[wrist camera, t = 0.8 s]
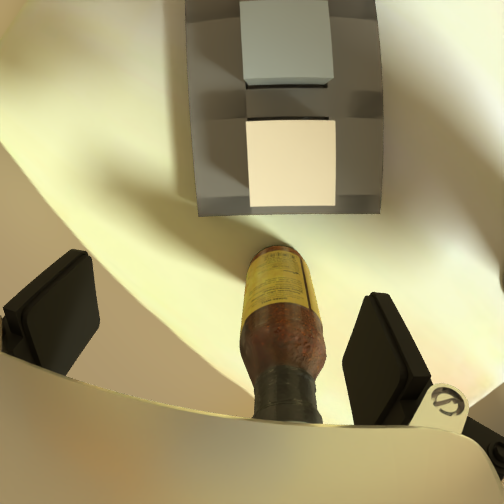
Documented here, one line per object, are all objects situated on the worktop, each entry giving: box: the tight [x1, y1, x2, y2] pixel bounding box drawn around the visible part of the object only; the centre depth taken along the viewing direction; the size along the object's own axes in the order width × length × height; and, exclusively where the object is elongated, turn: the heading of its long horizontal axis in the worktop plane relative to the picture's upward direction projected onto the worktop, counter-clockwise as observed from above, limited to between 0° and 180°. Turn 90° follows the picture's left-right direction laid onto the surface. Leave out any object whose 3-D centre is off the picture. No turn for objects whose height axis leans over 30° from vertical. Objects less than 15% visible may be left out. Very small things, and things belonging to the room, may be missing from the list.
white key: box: [246, 120, 336, 207], centre depth 23 cm, size 6×6×4 cm
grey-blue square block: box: [240, 0, 334, 86], centre depth 20 cm, size 6×6×4 cm
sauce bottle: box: [240, 246, 327, 424], centre depth 24 cm, size 6×6×20 cm
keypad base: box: [185, 0, 383, 217], centre depth 23 cm, size 16×28×3 cm, turn 3°
